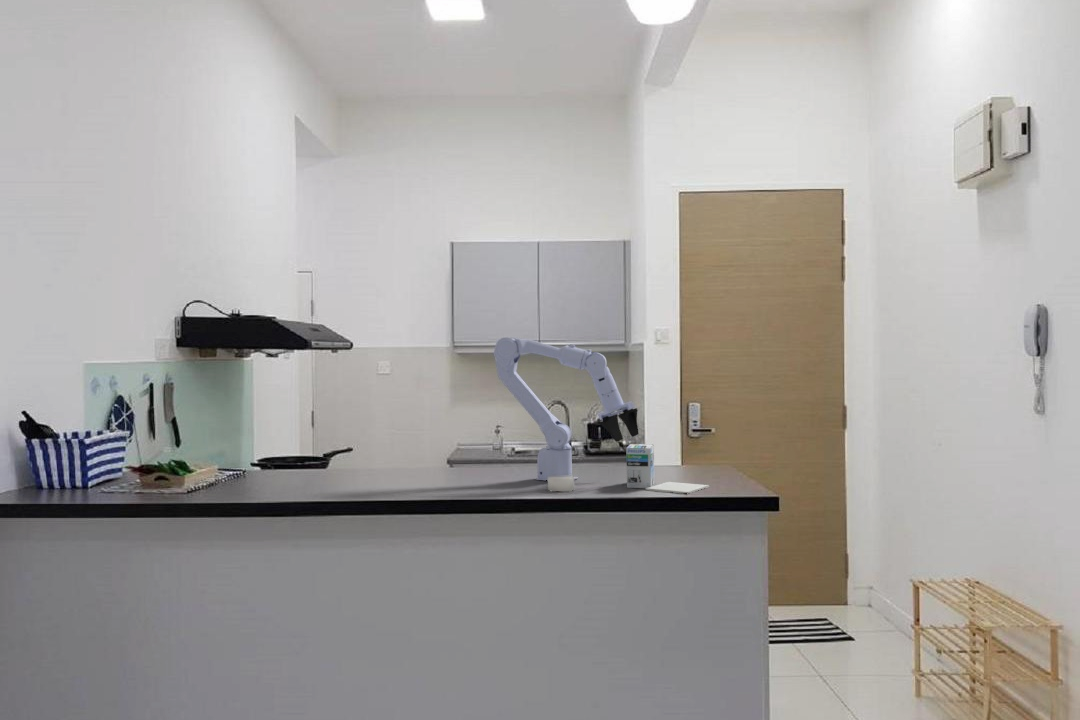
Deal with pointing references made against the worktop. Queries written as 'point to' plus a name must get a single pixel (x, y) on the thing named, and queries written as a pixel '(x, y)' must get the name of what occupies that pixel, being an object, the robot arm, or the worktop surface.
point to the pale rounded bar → (561, 483)
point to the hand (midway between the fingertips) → (627, 438)
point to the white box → (677, 487)
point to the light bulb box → (640, 465)
